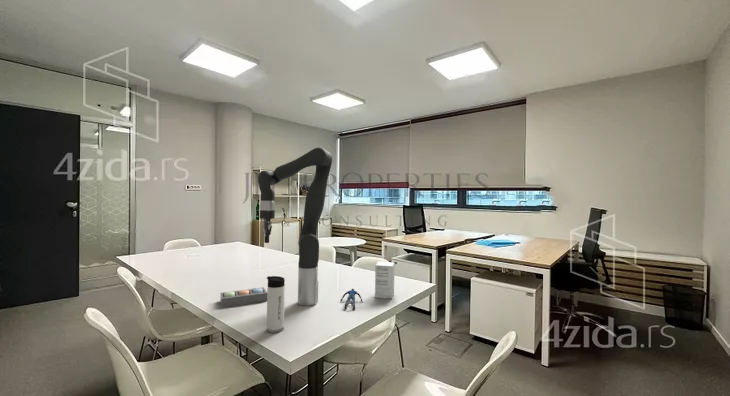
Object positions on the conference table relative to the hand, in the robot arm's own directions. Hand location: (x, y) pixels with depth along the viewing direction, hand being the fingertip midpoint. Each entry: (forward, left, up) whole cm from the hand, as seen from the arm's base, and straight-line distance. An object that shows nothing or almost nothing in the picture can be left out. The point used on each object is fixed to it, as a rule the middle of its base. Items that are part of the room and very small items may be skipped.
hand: (266, 242), depth 151 cm
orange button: (+7, +10, -26) cm, 28 cm away
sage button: (+13, +13, -26) cm, 32 cm away
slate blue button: (+1, +7, -26) cm, 27 cm away
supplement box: (-62, -3, -27) cm, 68 cm away
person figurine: (-45, +10, -28) cm, 54 cm away
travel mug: (-18, +40, -27) cm, 52 cm away
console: (+7, +10, -27) cm, 30 cm away
